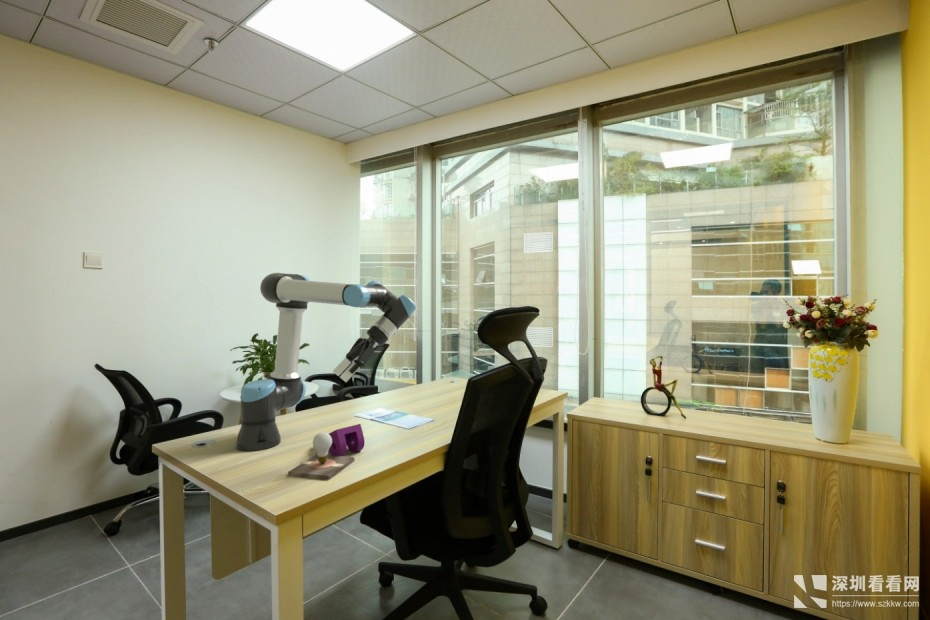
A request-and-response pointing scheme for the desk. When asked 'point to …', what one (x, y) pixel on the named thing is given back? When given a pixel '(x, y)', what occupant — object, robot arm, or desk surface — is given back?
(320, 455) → the light bulb
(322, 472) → the board
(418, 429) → the desk surface
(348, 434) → the mounting bracket
